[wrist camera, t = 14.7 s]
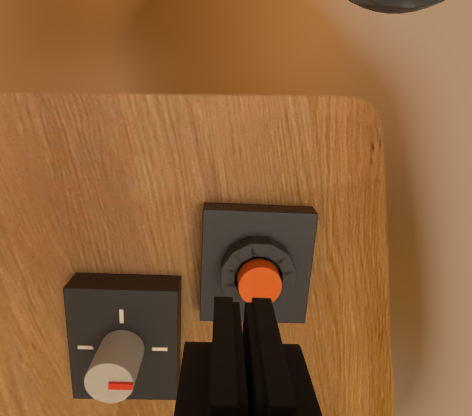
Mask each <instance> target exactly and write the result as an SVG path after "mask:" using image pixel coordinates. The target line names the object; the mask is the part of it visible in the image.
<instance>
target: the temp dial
mask: <svg viewBox="0 0 472 416" xmlns="http://www.w3.org/2000/svg"><path fill="white" fill-rule="evenodd" d="M143 355H144V344H143V341H142V340H141V338H140V337H139V336H138V335H136V334H135V333H133V332H131V331H128V330H116V331H112V332H110V333H109V334H107V335H106V336H105V337H104V338H103V340H102V342H101V344H100V346H99V348H98V350H97V352H96V354H95V356H94V358H93V360H92V362H91V364H90V367H89V369H88V371H87V373H86V375H85V377H84V386H85V389H86V391H87V392H88V394H89V395H90V396H91V397H92V398H94V399H96V400H97V401H100V402H103V403H117V402H120V401H123V400H125V399H126V398H127V397H128V396H129V395H130V394H131V393H132V391H133V388H134V385H135V381H136V378H137V375H138V371H139V368H140V365H141V361H142V358H143Z"/></svg>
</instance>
